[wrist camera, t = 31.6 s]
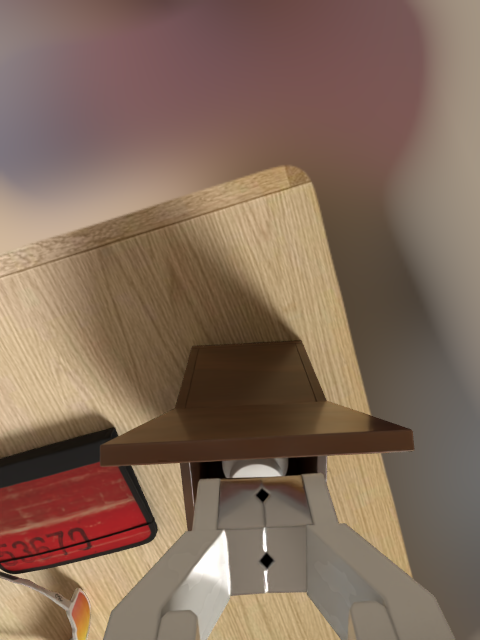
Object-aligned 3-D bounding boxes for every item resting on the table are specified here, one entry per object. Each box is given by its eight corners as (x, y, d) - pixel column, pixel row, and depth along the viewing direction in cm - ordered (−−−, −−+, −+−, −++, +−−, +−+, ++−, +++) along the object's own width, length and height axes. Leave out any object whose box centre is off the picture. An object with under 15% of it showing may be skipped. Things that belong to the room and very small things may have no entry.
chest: (302, 457, 48) (325, 554, 36) (202, 462, 48) (191, 560, 36) (301, 340, 44) (328, 403, 31) (191, 345, 44) (173, 411, 31)
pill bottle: (245, 382, 44) (248, 443, 34) (291, 410, 45) (307, 478, 35) (213, 423, 46) (206, 495, 35) (258, 450, 47) (264, 527, 36)
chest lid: (415, 451, 15) (413, 429, 15) (99, 467, 15) (99, 444, 15) (329, 412, 31) (329, 401, 31) (173, 419, 31) (172, 408, 31)
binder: (-67, 485, 46) (109, 437, 44) (-54, 471, 48) (114, 424, 47) (2, 583, 52) (162, 543, 50) (12, 566, 54) (164, 527, 52)
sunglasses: (83, 658, 58) (64, 698, 53) (-16, 618, 58) (-43, 655, 54) (107, 585, 54) (89, 622, 49) (0, 543, 54) (-28, 576, 50)
